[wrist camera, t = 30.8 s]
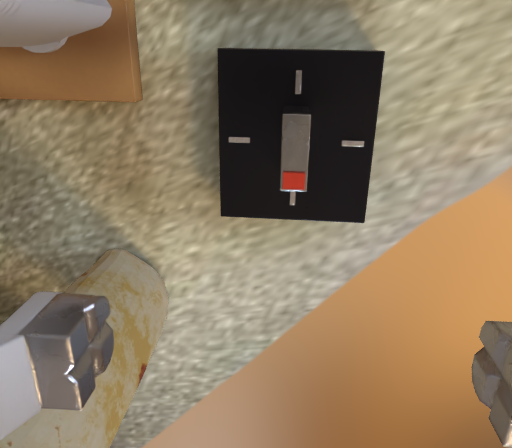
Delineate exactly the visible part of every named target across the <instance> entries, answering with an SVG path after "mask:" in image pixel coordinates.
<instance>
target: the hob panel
mask: <svg viewBox="0 0 512 448" xmlns="http://www.w3.org/2000/svg"><path fill="white" fill-rule="evenodd" d="M384 55H385V51H377V50H319V49H256V48H218V95H219V147H220V199H221V216H227V217H248V218H269V219H290V220H312V221H333V222H354V223H364V221H365V213H366V205H367V196H368V188H369V180H370V172H371V163H372V155H373V147H374V138H375V130H376V122H377V113H378V105H379V97H380V88H381V80H382V72H383V63H384ZM284 106H310V111H311V130H310V147H309V164H308V181H307V191H306V192H301V191H281V190H280V171H281V142H282V115H283V110H284Z"/></svg>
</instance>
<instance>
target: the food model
mask: <svg viewBox="0 0 512 448" xmlns="http://www.w3.org/2000/svg"><path fill="white" fill-rule="evenodd" d="M64 293H74V294H86V295H98V296H105V297H106V298H107V299H108V300H109V306H110V311H111V313H110V315H109V316H108V318H107V319H106V322H107V323H108V324H109V326H110V327H111V328H112V329H113V333H114V350H113V354H112V357H111V361H110V363H109V365H108V367H107V369H106V370H105V372H103V373H102V374H100V375H99V376H97V377H95V384H96V387H95V389H94V391H93V392H92V394H91V396H90V397H89V399H88V401H87V402H86V404H85V406H84V407H83V409H82V411H80V410H62V409H44V408H41V411H40V412H39V413H37V414H36V415H35V416H33V417H32V418H30V419H29V420H28V421H26V422H25V423H24V424H22V425H21V426H19V427H18V428H17V429H15V430H14V431H13V432H11V433H10V434H9V435H7V436H6V437H4V438H3V439H2V440H0V448H109V447H110V445H111V443H112V441H113V439H114V437H115V435H116V433H117V430H118V428H119V426H120V424H121V422H122V420H123V418H124V416H125V414H126V411H127V409H128V407H129V405H130V403H131V401H132V399H133V396H134V394H135V392H136V390H137V388H138V386H139V383H140V381H141V379H142V377H143V374H144V372H145V370H146V367H147V365H148V363H149V360H150V358H151V356H152V354H153V351H154V349H155V347H156V345H157V342H158V340H159V338H160V335H161V333H162V330H163V328H164V324H165V321H166V318H167V314H168V294H167V290H166V287H165V284H164V281H163V280H162V278H161V277H160V275H159V274H158V272H157V271H156V270H155V269H153V268H152V267H151V266H149V265H148V264H147V263H145V262H144V261H142V260H141V259H139V258H138V257H136V256H134V255H132V254H131V253H129V252H127V251H126V250H124V249H112V250H107V251H106V252H105V253H104V254H103V255H102V256H101V257H100V258H99V259H98V260H97V261H96V262H95V263H94V265H93V266H92V267H91V268H90V269H88V270H87V271H86V272H85V273H84V274H82V275H81V276H80V277H79V278H78V279H77V280H76V281H74V282H73V283H72V284H71V285H70V286H69V287H68V288H67V289H66V291H65V292H64Z"/></svg>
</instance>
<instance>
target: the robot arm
mask: <svg viewBox="0 0 512 448" xmlns="http://www.w3.org/2000/svg"><path fill="white" fill-rule="evenodd" d="M110 313H111V311H110V306H109V300H108V299H107V298H106V297H105V296H98V295H86V294H74V293H60V292H47V291H41V292H36V293H35V294H34V295H32V296H31V297H30V298H29V299H28V300H27V301H26V302H25V303H24V304H23V305H22V306H21V307H20V308H19V309H17V310H16V311H15V312H14V313H13V314H12V315H11V316H10V317H9V318H8V319H7V320H6V321H5V322H3V323H2V324H1V325H0V440H2V439H3V438H4V437H6V436H7V435H9V434H10V433H11V432H13V431H14V430H15V429H17V428H18V427H19V426H21V425H22V424H24V423H25V422H26V421H28V420H29V419H30V418H32V417H33V416H35V415H36V414H37V413H39V412H40V411H41V408H44V409H62V410H80V411H82V409H83V407H84V406H85V404H86V402H87V401H88V399H89V397H90V396H91V394H92V392H93V391H94V389H95V387H96V384H95V377H97V376H99V375H100V374H102V373H103V372H105V370H106V369H107V367H108V365H109V363H110V361H111V357H112V354H113V350H114V333H113V329H112V328H111V327H110V326H109V324H108V323H107V322H106V319H107V318H108V316H109V315H110ZM479 338H480V340H481V341H482V343H483V345H484V347H483V348H482V349H481V350H480V351H478V352H477V353H476V354H475V355H474V360H473V364H472V382H473V385H474V389H475V392H476V394H477V396H478V398H479V400H480V401H481V402H482V403H484V404H485V405H486V406H488V407H489V408H490V409H491V412H490V415H489V420H490V422H491V424H492V426H493V428H494V430H495V431H496V433H497V435H498V437H499V439H500V441H501V443H502V445H503V446H504V447H512V322H499V321H486V322H485V323H484V325H483V326H482V328H481V332H480V336H479Z"/></svg>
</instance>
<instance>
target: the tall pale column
mask: <svg viewBox="0 0 512 448" xmlns="http://www.w3.org/2000/svg"><path fill="white" fill-rule="evenodd" d="M111 11H112V7H111V6H110V4H109V3H108V1H107V0H0V47H23V48H24V49H26V50H29V51H31V52H35V53H50V52H53V51H56V50H58V49H59V48H61V47H62V46H63V45H64V44H65V42H66V41H67V39H68V37H70V36H73V35H76V34H79V33H82V32H85V31H88V30H91V29H94V28H97V27H100V26H102V25H103V24H104V23H105V22H106V21H107V20H108V19H109V18H110V17H111Z"/></svg>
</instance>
